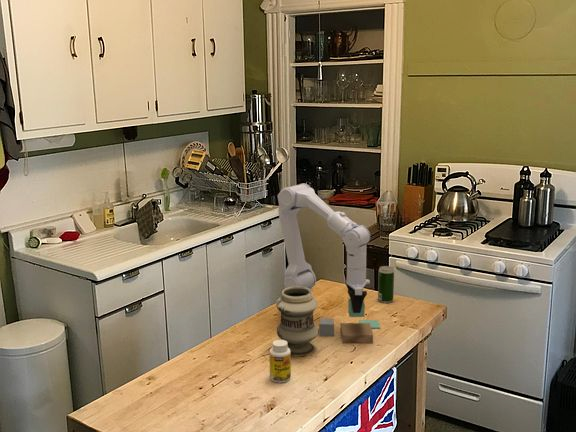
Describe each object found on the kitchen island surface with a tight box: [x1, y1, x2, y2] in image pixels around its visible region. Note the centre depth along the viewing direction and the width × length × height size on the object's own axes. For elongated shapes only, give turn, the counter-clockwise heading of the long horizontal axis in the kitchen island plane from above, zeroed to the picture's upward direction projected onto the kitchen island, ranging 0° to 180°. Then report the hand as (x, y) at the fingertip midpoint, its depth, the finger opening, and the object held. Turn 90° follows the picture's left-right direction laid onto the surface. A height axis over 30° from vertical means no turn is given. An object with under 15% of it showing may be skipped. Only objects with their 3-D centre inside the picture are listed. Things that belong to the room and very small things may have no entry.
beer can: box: [377, 265, 395, 304], centre depth 217 cm, size 5×5×12 cm
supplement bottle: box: [269, 339, 292, 383], centre depth 163 cm, size 6×6×10 cm
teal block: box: [347, 298, 366, 318], centre depth 188 cm, size 4×4×4 cm
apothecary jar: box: [275, 286, 319, 357], centre depth 180 cm, size 12×12×18 cm
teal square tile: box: [358, 319, 381, 330], centre depth 198 cm, size 6×6×1 cm
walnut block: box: [340, 322, 374, 345], centre depth 189 cm, size 9×9×3 cm
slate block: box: [318, 317, 335, 337], centre depth 192 cm, size 4×4×4 cm
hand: (355, 309), depth 188 cm, fingers closed on teal block, 4 cm apart
